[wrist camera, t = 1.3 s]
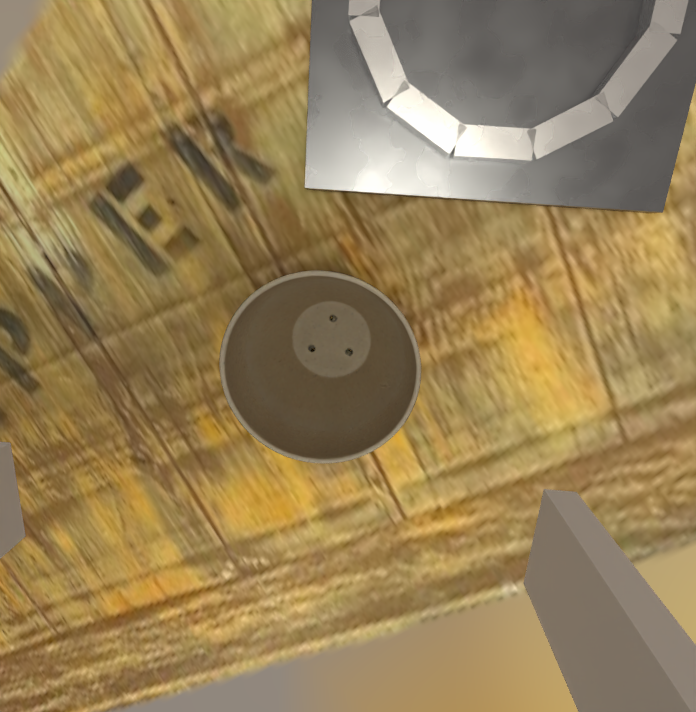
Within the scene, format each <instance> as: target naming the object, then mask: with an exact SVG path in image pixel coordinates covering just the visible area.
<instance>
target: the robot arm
mask: <svg viewBox="0 0 696 712" xmlns="http://www.w3.org/2000/svg"><path fill="white" fill-rule="evenodd" d="M24 537H25V530H24V524H23V518H22V511H21V505H20V499H19V493H18V487H17V480H16V474H15V468H14V462H13V456H12V449H11V443H9V442H0V558H2V557H3V556H4V555H5V554H6V553H7V552H8V551H9V550H11V549H12V548H13V547H14V546H15V545H16V544H17V543H19V542H20V541H21V540H22V539H23V538H24ZM524 585H525V588H526V590H527V592H528V595H529V597H530V599H531V602H532V604H533V606H534V609H535V611H536V613H537V616H538V618H539V620H540V623H541V625H542V627H543V630H544V632H545V635H546V637H547V639H548V642H549V644H550V646H551V649H552V651H553V653H554V656H555V658H556V660H557V662H558V665H559V667H560V670H561V672H562V674H563V676H564V679H565V681H566V683H567V686H568V688H569V691H570V693H571V695H572V698H573V700H574V702H575V705H576V707H577V709H578V711H579V712H696V645H695V644H694V643H693V641H692V640H691V638H690V637H689V636H688V635H687V633H686V632H685V631H684V630H683V629H682V627H681V626H680V625H679V623H678V622H677V620H676V619H675V618H674V617H673V615H672V614H671V613H670V611H669V610H668V609H667V608H666V606H665V605H664V604H663V603H662V601H661V600H660V599H659V598H658V596H657V595H656V594H655V592H654V591H653V590H652V588H651V587H650V586H649V585H648V584H647V582H646V581H645V579H644V578H643V577H642V576H641V574H640V573H639V572H638V570H637V569H636V568H635V567H634V565H633V564H632V563H631V561H630V560H629V559H628V558H627V556H626V555H625V554H624V552H623V551H622V550H621V549H620V547H619V546H618V545H617V543H616V542H615V541H614V540H613V538H612V537H611V536H610V534H609V533H608V532H607V531H606V529H605V528H604V527H603V525H602V524H601V523H600V522H599V520H598V519H597V518H596V516H595V515H594V514H593V513H592V511H591V510H590V509H589V508H588V506H587V505H586V504H585V502H584V501H583V500H582V499H581V497H580V496H579V495H578V493H577V492H570V491H559V490H547V489H544V491H543V496H542V501H541V505H540V510H539V515H538V519H537V524H536V528H535V533H534V538H533V542H532V547H531V552H530V556H529V561H528V566H527V570H526V575H525V579H524Z"/></svg>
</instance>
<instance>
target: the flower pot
mask: <svg viewBox="0 0 696 712" xmlns="http://www.w3.org/2000/svg"><path fill="white" fill-rule="evenodd" d="M331 316H332V317H333V319H332V320H330V317H331ZM312 348H315V350H314V351H311V349H312ZM348 349H351V350H352V352H350V351H349V350H348ZM219 364H220V376H221V383H222V387H223V390H224V394H225V396H226V399H227V402H228V404H229V406H230V408H231V409H232V411H233V413H234V414H235V416H236V417H237V419H238V420H239V422H240V423H241V424H242V425H243V427H244V428H245V429H246V430H247V431H248V432H249V433H250V434H251V435H252V436H253V437H254V438H256V439H257V440H258V441H259V442H261V443H262V444H264V445H265V446H266V447H268V448H270V449H272V450H273V451H275V452H277V453H279V454H281V455H284V456H286V457H289V458H292V459H296V460H300V461H304V462H311V463H337V462H344V461H349V460H353V459H356V458H359V457H361V456H364V455H366V454H368V453H370V452H372V451H374V450H375V449H377V448H379V447H380V446H382V445H383V444H384V443H386V442H387V441H388V440H389V439H390V438H392V437H393V436H394V435H395V434H396V433H397V432H398V430H399V429H400V428H401V427H402V426H403V424H404V423H405V422H406V420H407V419H408V417H409V415H410V413H411V411H412V409H413V407H414V405H415V402H416V399H417V396H418V392H419V388H420V381H421V359H420V353H419V348H418V344H417V341H416V338H415V336H414V333H413V331H412V329H411V327H410V325H409V323H408V322H407V320H406V318H405V317H404V315H403V314H402V312H401V311H400V310H399V309H398V307H397V306H396V305H395V304H394V303H393V302H392V301H391V300H390V299H389V298H388V297H387V296H386V295H384V294H383V293H382V292H380V291H379V290H378V289H376V288H375V287H373V286H371V285H370V284H368V283H366V282H364V281H362V280H360V279H358V278H355V277H353V276H350V275H346V274H342V273H338V272H332V271H303V272H297V273H292V274H288V275H285V276H282V277H280V278H277V279H275V280H273V281H271V282H269V283H267V284H265V285H264V286H262V287H261V288H259V289H258V290H256V291H255V292H254V293H253V294H251V295H250V296H249V297H248V298H247V299H246V300H245V301H244V302H243V303H242V304H241V306H240V307H239V308H238V310H237V311H236V312H235V314H234V315H233V317H232V319H231V321H230V323H229V325H228V326H227V329H226V331H225V334H224V337H223V341H222V345H221V350H220V363H219Z"/></svg>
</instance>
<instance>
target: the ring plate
mask: <svg viewBox="0 0 696 712" xmlns="http://www.w3.org/2000/svg"><path fill="white" fill-rule="evenodd" d="M695 84H696V0H312V15H311V41H310V66H309V92H308V118H307V143H306V169H305V188H306V189H309V190H324V191H338V192H353V193H367V194H382V195H396V196H411V197H425V198H440V199H454V200H469V201H483V202H498V203H512V204H527V205H541V206H556V207H570V208H585V209H599V210H614V211H628V212H643V213H662V212H663V210H664V206H665V202H666V198H667V194H668V190H669V186H670V182H671V178H672V174H673V170H674V166H675V162H676V158H677V154H678V150H679V147H680V143H681V139H682V135H683V131H684V127H685V123H686V119H687V115H688V111H689V107H690V103H691V99H692V95H693V91H694V87H695Z"/></svg>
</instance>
